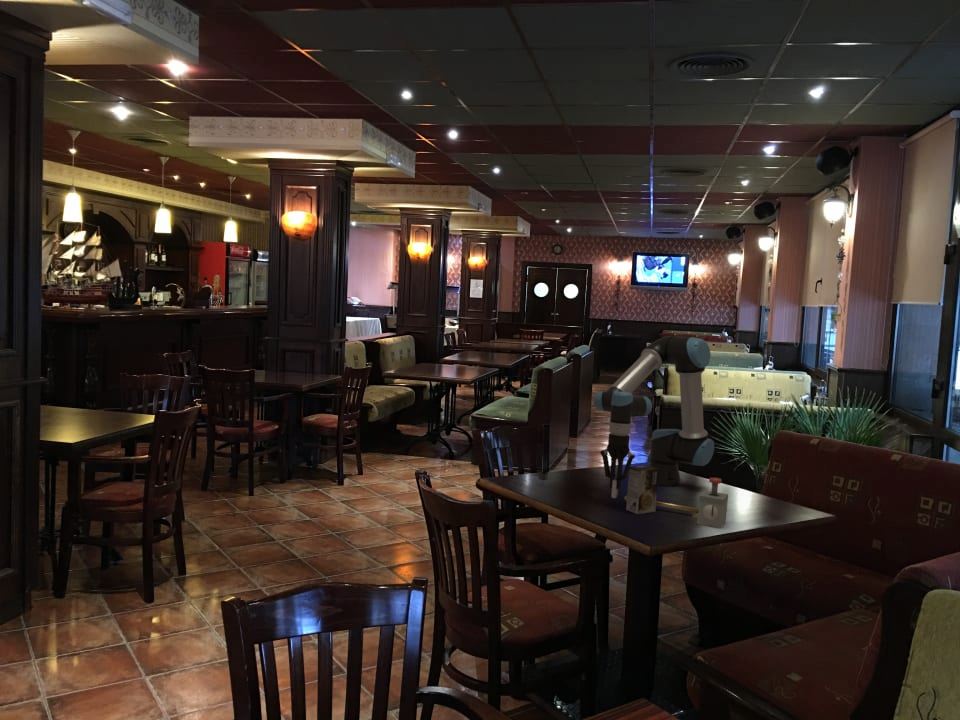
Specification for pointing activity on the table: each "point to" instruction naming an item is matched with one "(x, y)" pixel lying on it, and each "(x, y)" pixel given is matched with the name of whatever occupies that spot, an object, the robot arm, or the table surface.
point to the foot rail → (676, 507)
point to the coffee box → (642, 489)
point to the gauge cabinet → (712, 509)
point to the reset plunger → (714, 484)
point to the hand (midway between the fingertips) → (614, 497)
